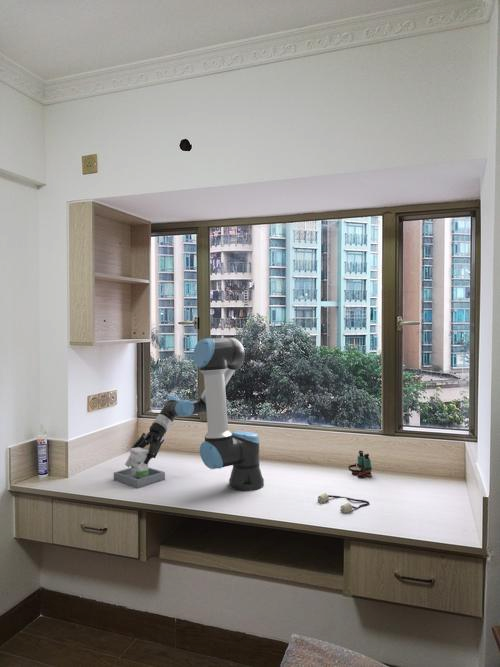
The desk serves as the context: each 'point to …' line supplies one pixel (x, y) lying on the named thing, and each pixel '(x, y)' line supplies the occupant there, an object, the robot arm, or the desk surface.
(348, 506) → the grey balls with cord
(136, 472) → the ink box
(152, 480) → the gray tray
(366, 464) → the binoculars
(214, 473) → the desk surface
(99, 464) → the desk surface
